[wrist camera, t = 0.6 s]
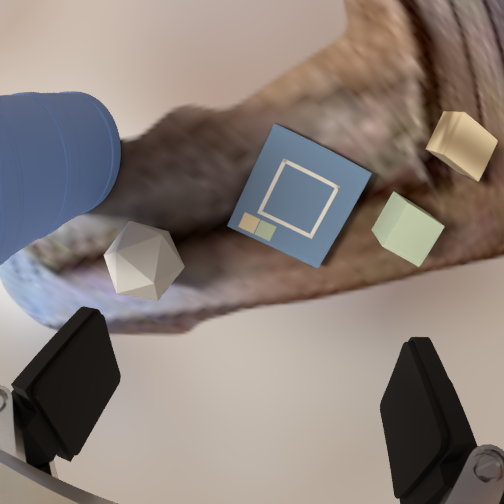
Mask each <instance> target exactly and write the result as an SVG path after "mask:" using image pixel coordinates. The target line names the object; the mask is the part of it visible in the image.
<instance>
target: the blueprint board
mask: <svg viewBox="0 0 504 504" xmlns="http://www.w3.org/2000/svg"><path fill="white" fill-rule="evenodd" d="M371 174H372V173H371V172H369V171H367V170H366V169H364V168H362V167H360V166H358V165H357V164H355V163H353V162H351V161H349V160H348V159H346V158H344V157H342V156H340V155H338V154H336V153H334V152H333V151H331V150H329V149H327V148H325V147H323V146H321V145H319V144H317V143H315V142H313V141H311V140H309V139H307V138H305V137H303V136H301V135H299V134H297V133H295V132H293V131H290V130H288V129H286V128H284V127H282V126H280V125H278V124H274V126H273V128H272V130H271V132H270V134H269V136H268V138H267V140H266V142H265V145H264V147H263V149H262V151H261V153H260V155H259V157H258V160H257V162H256V164H255V166H254V168H253V170H252V172H251V175H250V177H249V179H248V181H247V183H246V186H245V188H244V190H243V192H242V194H241V196H240V199H239V201H238V203H237V205H236V208H235V210H234V212H233V214H232V216H231V219H230V221H229V223H228V225H227V226H228V227H230V228H232V229H234V230H236V231H239V232H241V233H243V234H245V235H247V236H249V237H252V238H254V239H256V240H258V241H260V242H262V243H264V244H267V245H269V246H271V247H273V248H275V249H277V250H279V251H281V252H284V253H286V254H288V255H290V256H292V257H294V258H296V259H298V260H301V261H303V262H305V263H307V264H309V265H311V266H313V267H315V268H317V269H318V267H319V266H320V264H321V262H322V261H323V259H324V257H325V256H326V254H327V252H328V251H329V249H330V247H331V246H332V244H333V242H334V240H335V239H336V237H337V235H338V234H339V232H340V230H341V228H342V227H343V225H344V223H345V221H346V220H347V218H348V216H349V214H350V212H351V211H352V209H353V207H354V205H355V204H356V202H357V200H358V198H359V196H360V194H361V193H362V191H363V189H364V187H365V185H366V183H367V182H368V180H369V178H370V176H371Z"/></svg>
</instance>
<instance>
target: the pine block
mask: <svg viewBox="0 0 504 504" xmlns="http://www.w3.org/2000/svg"><path fill="white" fill-rule="evenodd" d="M497 142H498V140H496V139H495V138H494V137H493V136H492V135H491V134H490V133H489V132H488V131H486V130H485V129H484V128H483V127H482V126H481V125H479V124H478V123H477V122H476V121H475V120H473V119H472V118H471V117H470V116H469V115H467V114H466V113H465V112H447V111H444V112H443V114H442V116H441V118H440V120H439V122H438V125H437V127H436V129H435V131H434V133H433V135H432V137H431V139H430V141H429V143H428V145H427V147H426V150H428V151H429V152H431V153H432V154H433V155H435V156H436V157H438V158H439V159H440V160H442V161H443V162H445V163H446V164H447V165H449V166H450V167H451V168H453V169H454V170H455V171H457V172H458V173H461V174H463V175H465V176H468V177H470V178H472V179H474V180H477V181H479V180H480V178H481V176H482V174H483V172H484V170H485V168H486V166H487V164H488V161H489V159H490V157H491V155H492V153H493V151H494V149H495V146H496V144H497Z"/></svg>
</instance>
